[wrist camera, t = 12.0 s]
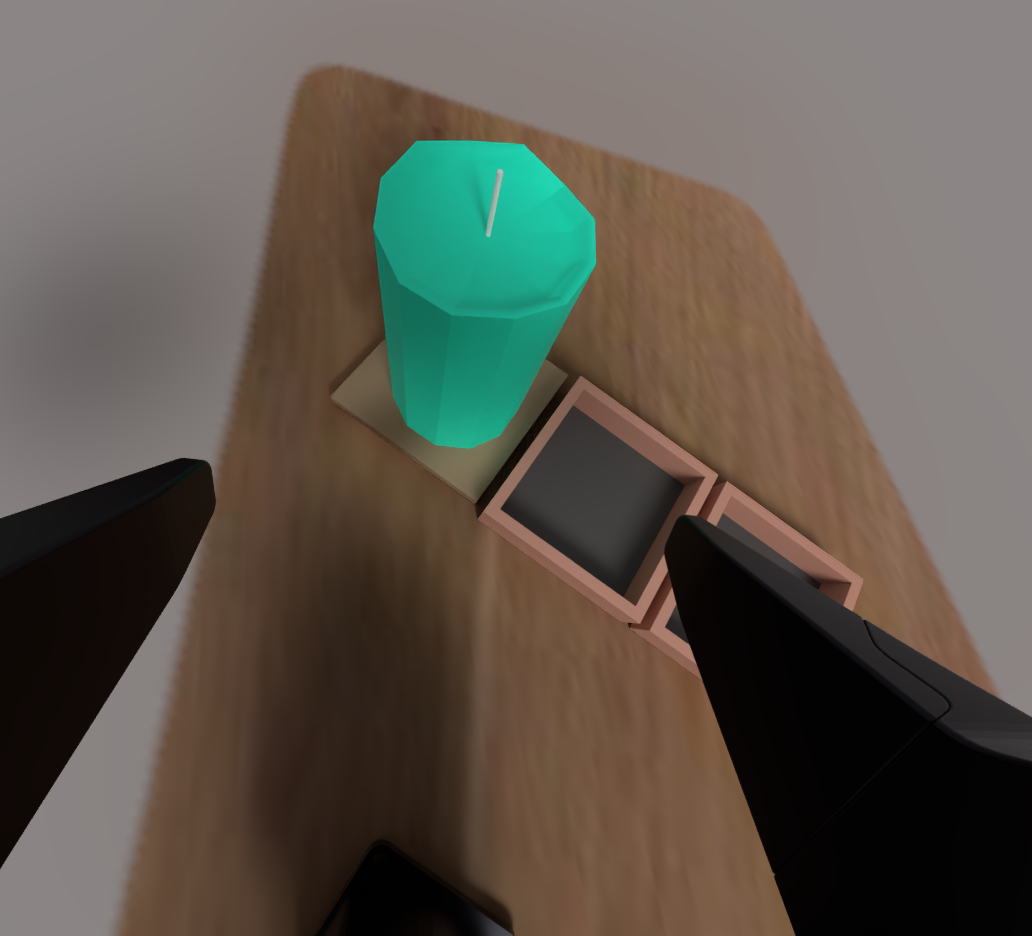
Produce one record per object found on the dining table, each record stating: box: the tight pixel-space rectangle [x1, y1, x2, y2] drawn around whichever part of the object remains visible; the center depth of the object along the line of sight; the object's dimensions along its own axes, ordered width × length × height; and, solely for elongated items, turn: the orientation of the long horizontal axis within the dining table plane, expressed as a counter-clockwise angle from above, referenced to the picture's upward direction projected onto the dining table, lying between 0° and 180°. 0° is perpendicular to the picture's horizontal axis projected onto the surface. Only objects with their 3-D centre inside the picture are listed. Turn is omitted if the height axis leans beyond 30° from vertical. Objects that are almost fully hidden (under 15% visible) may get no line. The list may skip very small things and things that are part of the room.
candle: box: [373, 140, 596, 449], centre depth 17 cm, size 6×6×12 cm
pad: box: [330, 338, 568, 504], centre depth 23 cm, size 8×8×1 cm
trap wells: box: [478, 376, 864, 680], centre depth 22 cm, size 16×8×2 cm, turn 56°
